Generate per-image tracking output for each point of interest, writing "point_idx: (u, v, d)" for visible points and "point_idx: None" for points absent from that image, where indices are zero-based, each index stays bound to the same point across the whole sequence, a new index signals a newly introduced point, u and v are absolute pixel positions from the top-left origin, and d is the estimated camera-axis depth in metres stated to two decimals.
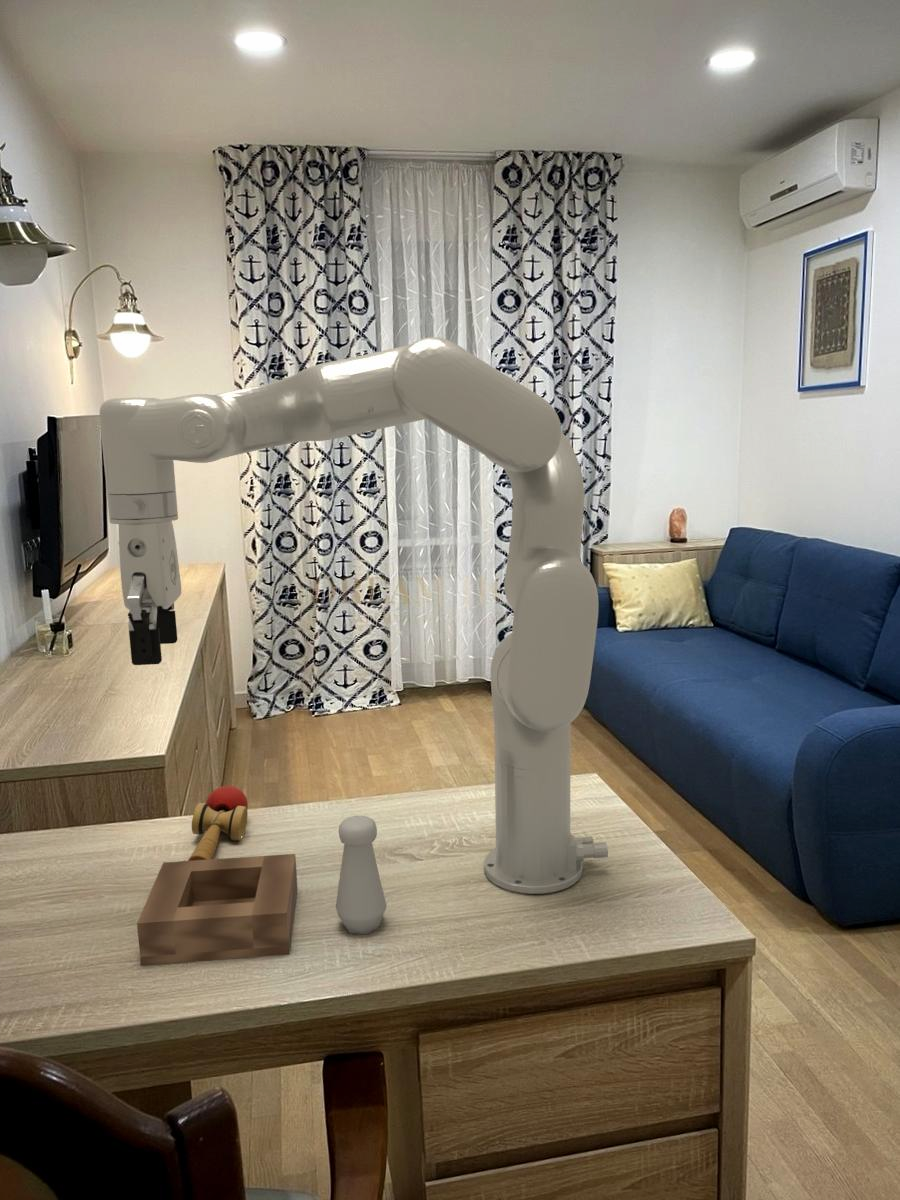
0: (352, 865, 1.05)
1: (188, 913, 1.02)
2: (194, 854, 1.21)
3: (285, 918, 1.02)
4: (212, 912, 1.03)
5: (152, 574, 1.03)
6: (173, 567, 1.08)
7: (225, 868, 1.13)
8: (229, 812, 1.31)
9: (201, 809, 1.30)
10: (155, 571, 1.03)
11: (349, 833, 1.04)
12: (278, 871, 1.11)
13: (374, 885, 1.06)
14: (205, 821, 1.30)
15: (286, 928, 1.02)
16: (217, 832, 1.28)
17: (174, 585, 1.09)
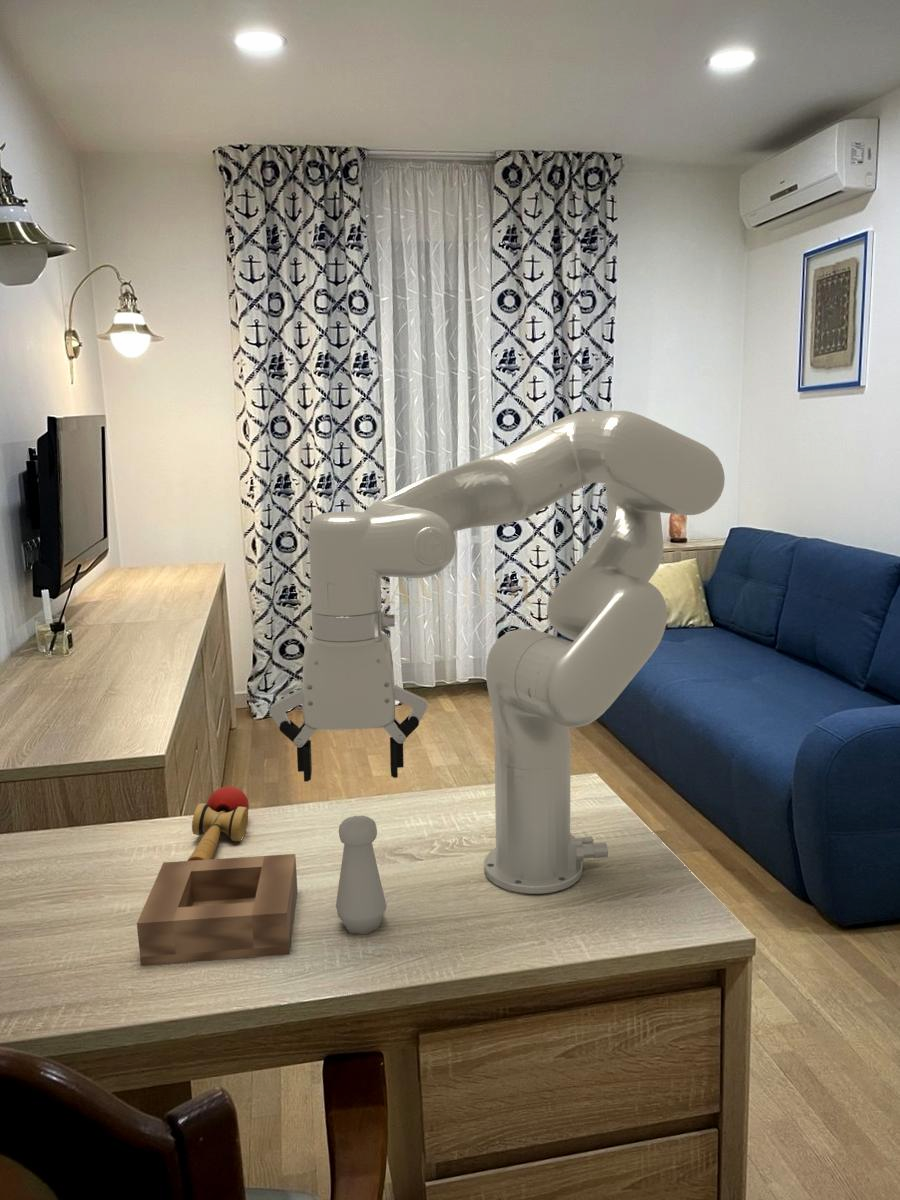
0: (352, 865, 1.05)
1: (188, 913, 1.02)
2: (193, 855, 1.21)
3: (285, 918, 1.02)
4: (212, 912, 1.03)
5: None
6: None
7: (225, 868, 1.13)
8: (229, 813, 1.31)
9: (201, 809, 1.30)
10: None
11: (349, 833, 1.04)
12: (278, 871, 1.11)
13: (374, 885, 1.06)
14: (205, 821, 1.30)
15: (286, 928, 1.02)
16: (217, 833, 1.27)
17: None
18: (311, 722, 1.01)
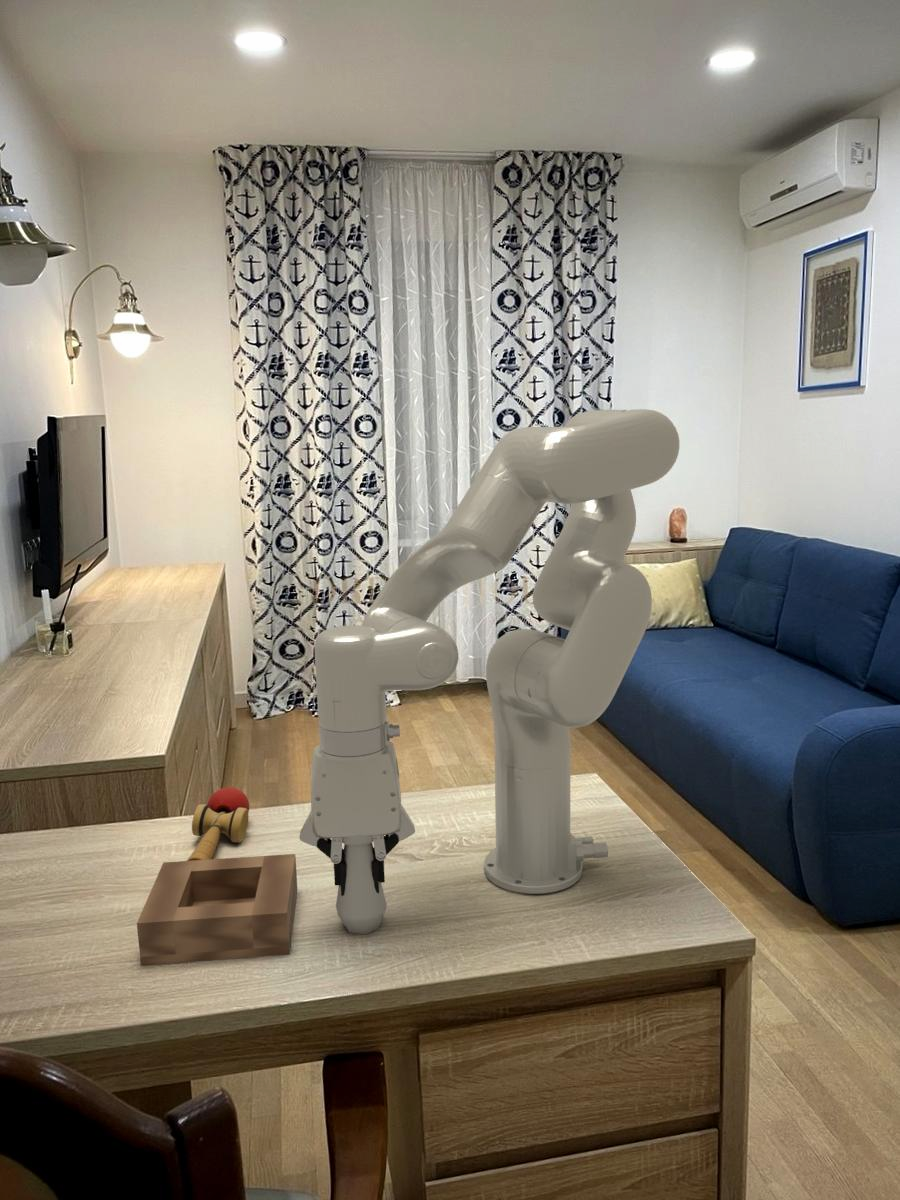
0: (352, 864, 1.05)
1: (188, 913, 1.02)
2: (192, 856, 1.21)
3: (285, 918, 1.02)
4: (212, 912, 1.03)
5: None
6: None
7: (225, 868, 1.13)
8: (229, 814, 1.30)
9: (201, 810, 1.30)
10: None
11: None
12: (278, 871, 1.11)
13: None
14: (205, 822, 1.29)
15: (286, 928, 1.02)
16: (216, 834, 1.27)
17: None
18: (320, 831, 1.04)
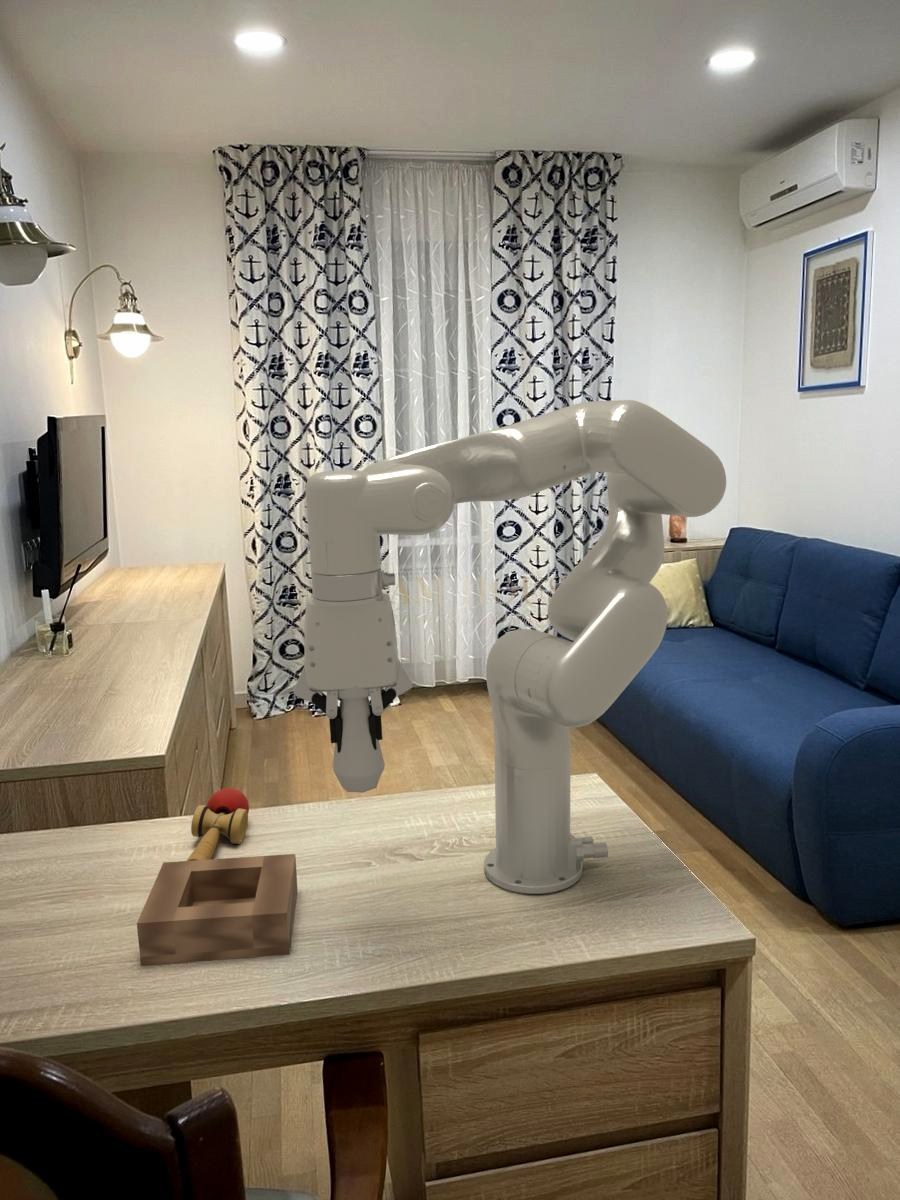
0: (348, 720, 1.02)
1: (188, 913, 1.02)
2: (191, 857, 1.20)
3: (285, 918, 1.02)
4: (212, 912, 1.03)
5: None
6: None
7: (225, 868, 1.13)
8: (229, 815, 1.30)
9: (201, 811, 1.29)
10: None
11: None
12: (278, 871, 1.11)
13: (371, 741, 1.03)
14: (204, 823, 1.29)
15: (286, 928, 1.02)
16: (216, 835, 1.27)
17: None
18: (314, 683, 1.01)
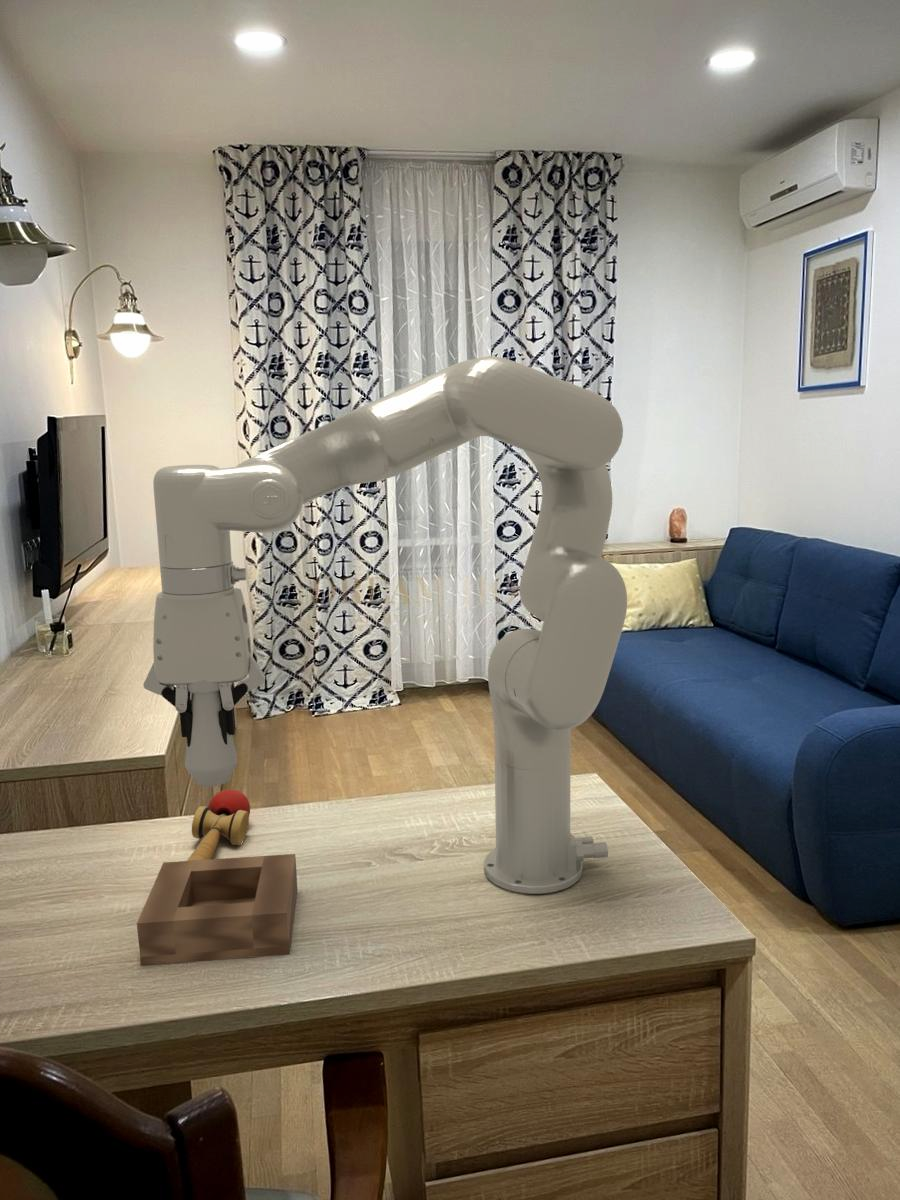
0: (198, 713, 1.02)
1: (188, 913, 1.02)
2: (190, 859, 1.20)
3: (285, 918, 1.02)
4: (212, 912, 1.03)
5: None
6: None
7: (225, 868, 1.13)
8: (229, 816, 1.30)
9: (201, 813, 1.29)
10: (249, 633, 1.05)
11: None
12: (278, 871, 1.11)
13: (221, 735, 1.03)
14: (205, 824, 1.29)
15: (286, 928, 1.02)
16: (216, 836, 1.26)
17: None
18: (162, 677, 1.01)
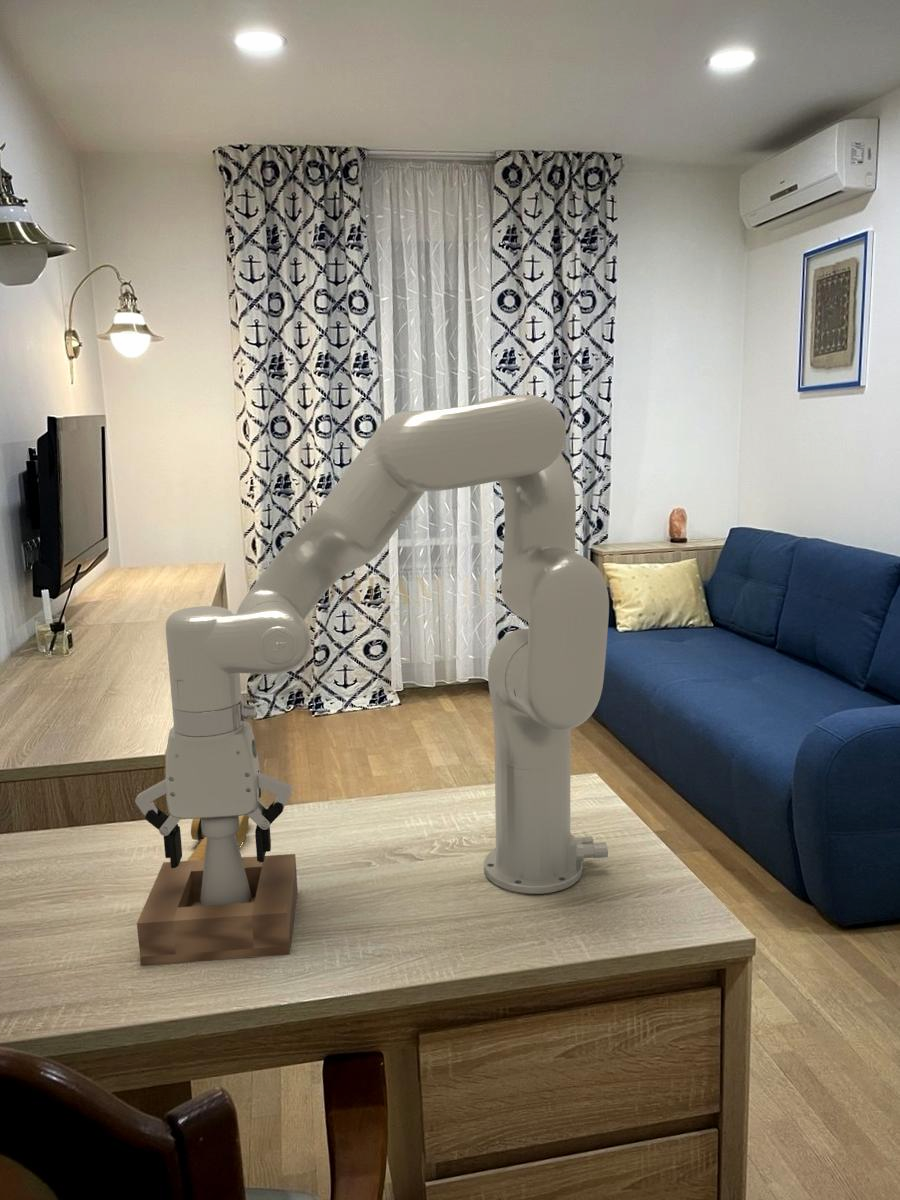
0: (213, 857, 1.06)
1: (188, 913, 1.02)
2: None
3: (285, 918, 1.02)
4: (212, 912, 1.03)
5: None
6: None
7: None
8: None
9: None
10: None
11: (209, 825, 1.05)
12: (278, 871, 1.11)
13: (236, 877, 1.07)
14: None
15: (286, 928, 1.02)
16: None
17: None
18: (175, 812, 1.04)
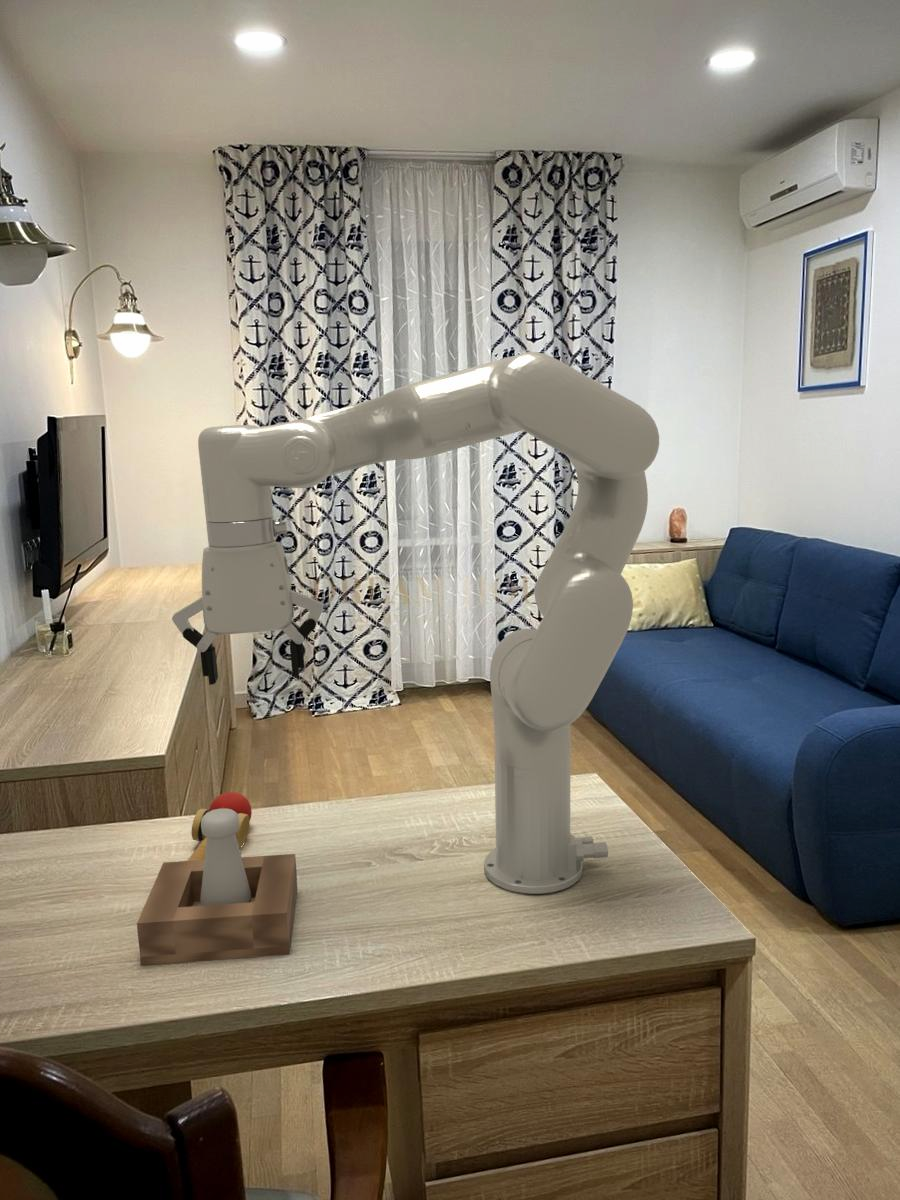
0: (213, 857, 1.06)
1: (188, 913, 1.02)
2: None
3: (285, 918, 1.02)
4: (212, 912, 1.03)
5: None
6: None
7: None
8: None
9: (201, 815, 1.28)
10: None
11: (209, 825, 1.05)
12: (278, 871, 1.11)
13: (236, 877, 1.07)
14: None
15: (286, 928, 1.02)
16: None
17: None
18: (212, 627, 1.07)
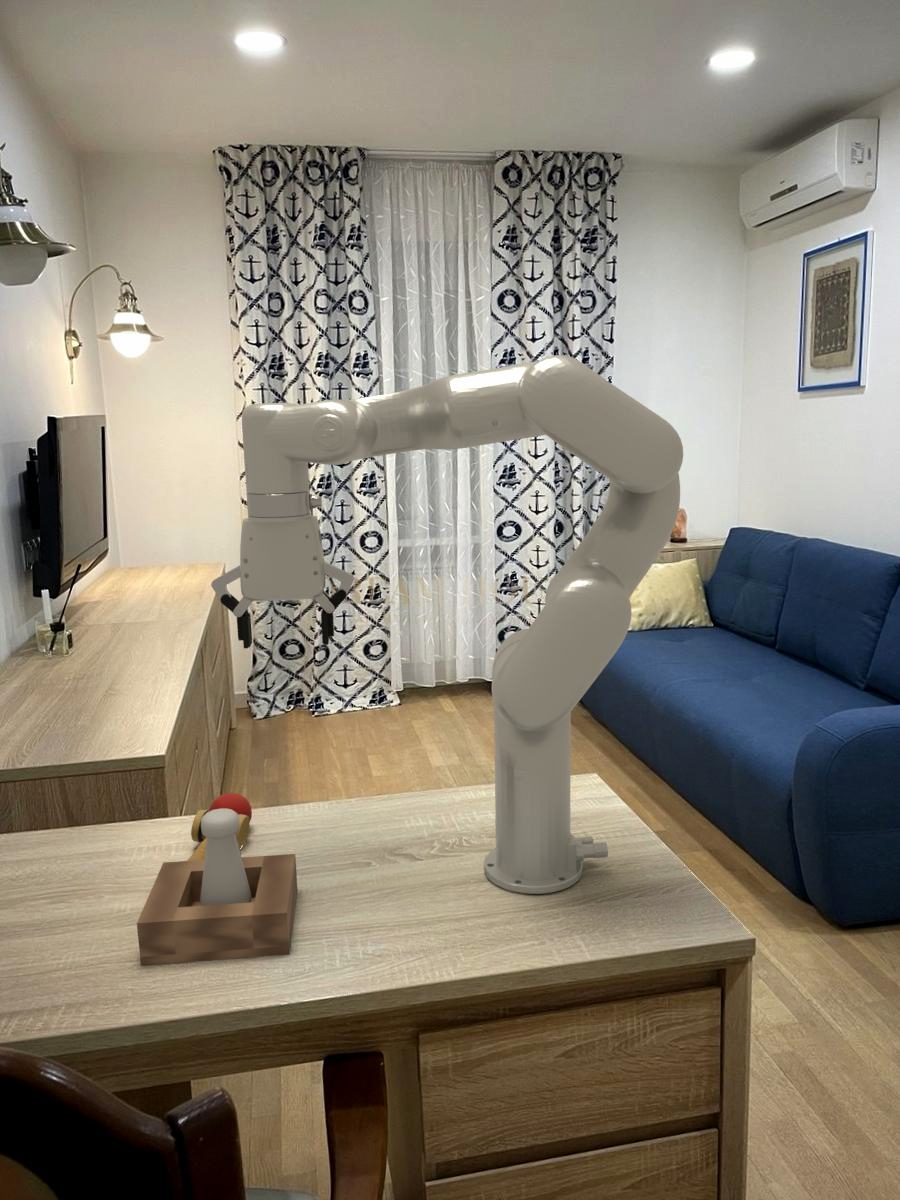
0: (213, 857, 1.06)
1: (188, 913, 1.02)
2: None
3: (285, 918, 1.02)
4: (212, 912, 1.03)
5: None
6: None
7: None
8: None
9: (201, 816, 1.28)
10: None
11: (209, 825, 1.05)
12: (278, 871, 1.11)
13: (236, 877, 1.07)
14: None
15: (286, 928, 1.02)
16: None
17: None
18: (248, 593, 1.13)
